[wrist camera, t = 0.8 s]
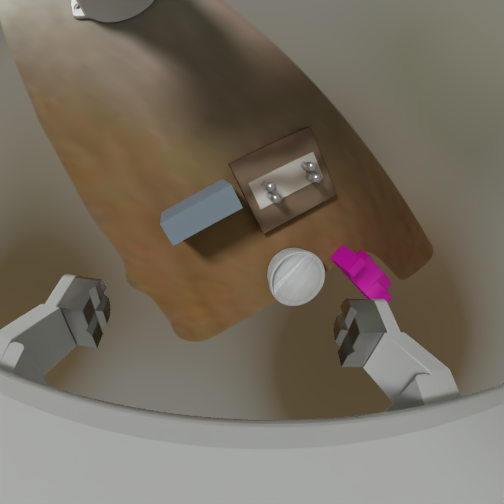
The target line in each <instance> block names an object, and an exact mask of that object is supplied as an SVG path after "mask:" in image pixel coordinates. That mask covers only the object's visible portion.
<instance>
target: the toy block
mask: <svg viewBox="0 0 504 504" xmlns="http://www.w3.org/2000/svg"><path fill="white" fill-rule="evenodd" d="M331 259H332V260H333V262H334V263H335V264H336V265H337V266H338V267H339V268H340V269H341V270H342V271H343V273H344V274H345V275H346V276H347V277H348V278H349V279H350V280H351V281H352V282H353V284H354V285H355V286H356V287H357V288H358V289H359V290H360V291H361V293H362V294H363V295H364V296H366V297H367V298H368V299H385V300H386V301H387V303H388V302H389V301H390V299H391V298H392V296H391V295H390V293H389V292H388V291H387V288H388V287H389V286H390V285H391V284H392V283H391V282H390V280H389V279H388V277H387V276H386V275H385V274H384V272H383V271H382V270H380V268H379V267H378V266H377V265H376V264H375V263H374V262H373V260H372V259H371V257H370V256H369V255H368V254H367V253H365V252H363V251H362V250H360V251H359V253H357V254H355V253H354V252H352V251H351V250H349V249H348V248H346V247H344V246H343V245H342V246H341V247H340V248H339V249H338V250H337V251H336V252H335V254H334V255H333V256H332V257H331Z"/></svg>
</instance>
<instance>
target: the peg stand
mask: <svg viewBox="0 0 504 504" xmlns="http://www.w3.org/2000/svg"><path fill="white" fill-rule="evenodd" d="M229 166H230V168H231V170H232V172H233V174H234V176H235V178H236V181H237V183H238V185H239V187H240V189H241V191H242V193H243V195H244V197H245V199H246V201H247V203H248V205H249V207H250V209H251V211H252V213H253V216H254V218H255V220H256V222H257V224H258V226H259V228H260V230H261V232H262V233H263V234H265V233H266V232H268V231H270V230H272V229H274V228H276V227H278V226H279V225H281V224H283V223H285V222H287V221H289V220H291V219H292V218H294V217H296V216H298V215H300V214H302V213H304V212H305V211H307V210H309V209H311V208H313V207H315V206H317V205H318V204H320V203H322V202H324V201H326V200H328V199H330V198H332V197H333V196H335V195H336V193H335V190H334V187H333V184H332V182H331V179H330V176H329V174H328V171H327V168H326V166H325V163H324V160H323V158H322V155H321V153H320V150H319V148H318V145H317V143H316V140H315V138H314V135H313V133H312V130H311V128H310V127H306V128H304V129H301V130H299V131H297V132H294V133H292V134H290V135H288V136H285V137H283V138H281V139H279V140H277V141H274V142H272V143H270V144H268V145H266V146H264V147H261V148H259V149H257V150H255V151H253V152H251V153H249V154H247V155H245V156H243V157H241V158H239V159H237V160H235V161H233V162H231V163H229Z"/></svg>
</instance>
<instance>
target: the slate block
mask: <svg viewBox="0 0 504 504" xmlns="http://www.w3.org/2000/svg"><path fill="white" fill-rule="evenodd" d="M242 208H243V207H242V205H241V203H240V201H239V199H238V197H237V195H236V193H235V191H234V189H233V187H232V185H231V184H230V183H228V182H227V181H225V180H224V179H222V180H220V181H218V182H216V183H214V184H213V185H211V186H209V187H207V188H205V189H203V190H201V191H199V192H198V193H196V194H194V195H192V196H190V197H188V198H187V199H185V200H183V201H181V202H179V203H178V204H176V205H174V206H172V207H170V208H169V209H167V210H165V211H163V212H162V214H161V220H160V225H161V226H162V228H163V230H164V231H165V233H166V235H167V237H168V238H169V240H170V242H171V243H172V245H173V246H174V245H176V244H178V243H180V242H181V241H183V240H185V239H187V238H189V237H190V236H192V235H194V234H196V233H198V232H199V231H201V230H203V229H205V228H207V227H208V226H210V225H212V224H214V223H216V222H218V221H219V220H221V219H223V218H225V217H227V216H229V215H231V214H233V213H234V212H236V211H238V210H240V209H242Z"/></svg>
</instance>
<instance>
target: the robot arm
mask: <svg viewBox="0 0 504 504" xmlns="http://www.w3.org/2000/svg"><path fill="white" fill-rule="evenodd" d="M153 2H154V0H71V3H72V12H73V16H74V18H76V19H84V18H91V19H94V20H97V21H101V22H118V21H123V20H126V19H129V18H132V17H134V16H136V15H138V14H139V13H141V12H143V11H144V10H145V9H147V8H148V7H149V6H150V5H151V4H152V3H153ZM78 7H80V8H79V9H77V8H78ZM105 290H106V286H105V283H104V281H103V280H101V279H95V278H89V277H82V276H74V275H68V274H66V275H64V276H63V277H62V278H61V280H60V281H59V283H58V284H57V286H56V287H55V289H54V290H53V292H52V294H51V295H50V297H49V298H48V300H47V302H46V303H45V305H43V304H41V305H39V306H37V307H36V308H34V309H33V310H31V311H29V312H28V313H26V314H24V315H23V316H21V317H20V318H18V319H16V320H15V321H13V322H12V323H10V324H9V325H7V326H6V327H4V328H3V329H1V330H0V504H504V383H503V384H501V385H498V386H495V387H491V388H488V389H485V390H482V391H479V392H475V393H472V394H468V395H465V396H460V393H459V391H458V388H457V386H456V384H455V381H454V379H453V377H452V374H451V372H450V370H449V369H448V368H447V367H446V366H445V365H443V364H442V363H441V362H440V361H439V360H437V359H436V358H435V357H434V356H433V355H431V354H430V353H429V352H428V351H427V350H425V349H424V348H423V347H422V346H421V345H419V344H418V343H417V342H416V341H414V340H413V339H412V338H411V337H409V336H408V335H407V334H405V333H404V332H400V329H399V327H398V325H397V323H396V320H395V319H394V316H393V314H392V312H391V310H390V307H389V305H388V303H387V301H386V300H385V299H345V300H344V301H343V302H342V305H341V310H342V313H340V314H339V315H338V316H337V317H336V320H335V323H334V339H335V342H336V343H337V344H338V345H339V346H340V348H339V350H338V355H339V359H340V363H341V367H363V368H364V369H365V370H366V372H367V373H368V374H369V375H370V376H371V377H372V379H373V380H374V381H375V382H376V383H377V384H378V385H379V387H380V388H381V389H382V390H383V391H384V392H385V393H386V395H387V396H388V397H389V398H390V399H391V401H392V402H393V404H391V406H390V407H389V408H388V409H387V410H386V411H385V412H383V413H375V414H368V415H359V416H350V417H339V418H325V419H306V420H243V419H225V418H211V417H199V416H190V415H181V414H173V413H166V412H159V411H152V410H146V409H140V408H135V407H129V406H124V405H119V404H114V403H110V402H105V401H101V400H97V399H92V398H89V397H85V396H81V395H77V394H73V393H70V392H67V391H63V390H60V389H56V388H53V387H51V386H50V384H49V383H48V382H47V380H46V379H45V377H44V375H45V374H46V373H47V372H49V370H51V369H52V368H53V367H54V366H55V365H56V364H57V363H58V362H59V361H60V360H62V359H63V358H64V357H65V356H66V355H67V354H68V353H69V352H70V351H71V350H72V349H74V348H75V347H76V345H81V346H87V347H93V348H97V347H98V345H99V342H100V340H101V337H102V335H103V333H102V330H101V328H102V327H104V326H105V325H106V324H107V323H108V320H109V317H110V302H109V298H108V297H107V296H106V295H105V294H104V292H105Z"/></svg>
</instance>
